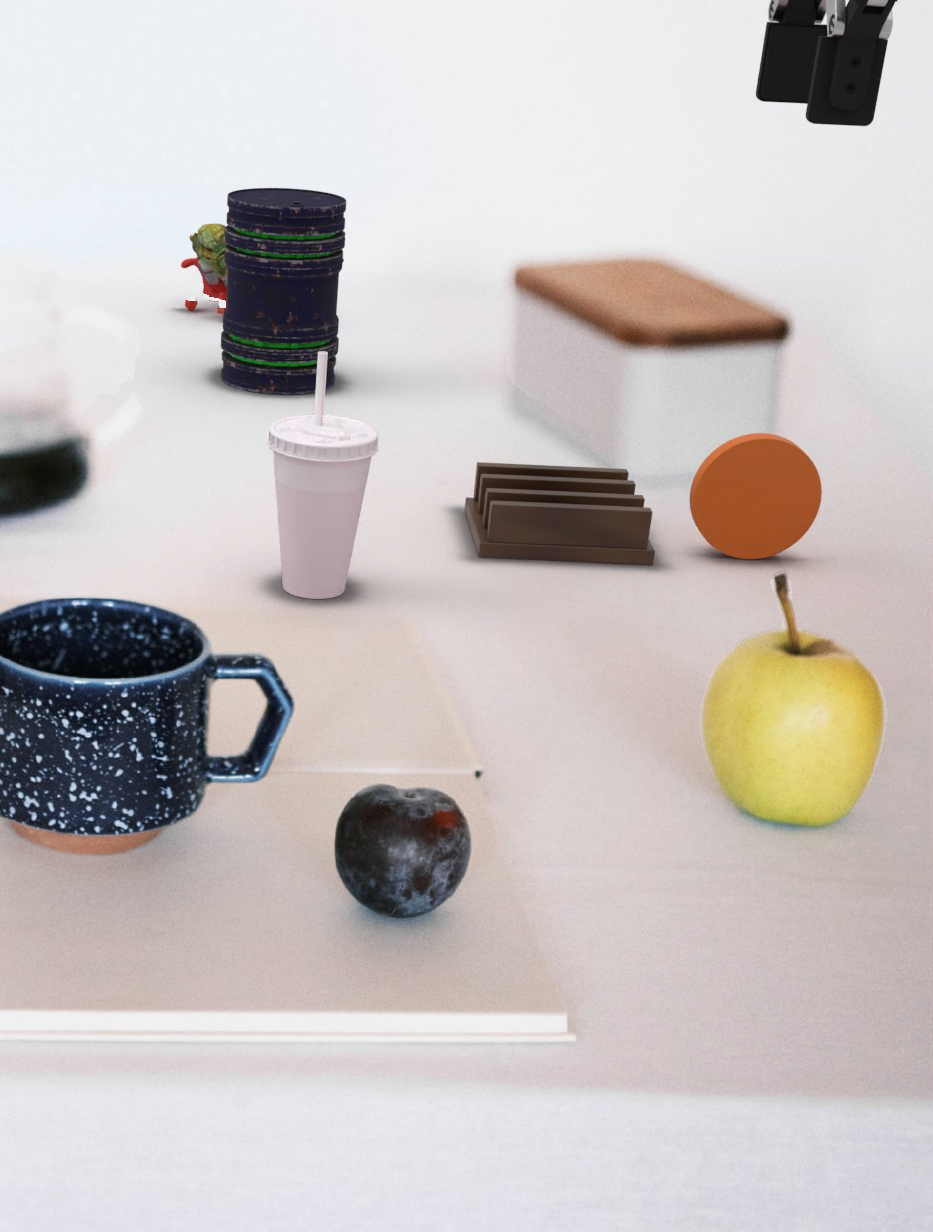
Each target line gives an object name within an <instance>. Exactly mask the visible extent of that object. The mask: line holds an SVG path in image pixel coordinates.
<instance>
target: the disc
mask: <svg viewBox="0 0 933 1232" xmlns="http://www.w3.org/2000/svg"><path fill="white" fill-rule="evenodd" d="M822 491H823V490H822V481H821V476H820V474H819V471H818V469H817V467H816V465H815V463H814V462H813V460H812V459H811V458H810V456H809V455H808V454H807V453H806V452H805V450H803V449H802V448H801V447H800V446H799V445H798V444H796V443H795V442H794V441H792V440H789V439H788V438H787V437H783V436H781V435H778V434H772V433H765V432H756V433H747V434H743V435H740V436H737V437H734V438H732V439H729V440H727V441H725V442H723V443H722V444H721V445H719V446H718V447H716V448H715V449H713V450H712V452H711V453H710V454H709V455H707V456H706V458H705V459H704V460H703V461H702V462H701V464H700V466H699V467H698V469H697V470H696V473H695V475H694V477H693V479H692V483H691V486H690V491H689V509H690V512H691V518H692V520H693V522H694V525H695V526H696V528H697V529H698V531H699V533H700V534H701V536H702V537H703V538H704V540H705V541H706V542H707V544H709V545H710V546H711V547H712V548H713V549H715V550H717V551H718V552H720V553H722V554H723V555H725V556H729V557H732V558H736V559H740V560H741V559H742V560H758V559H759V560H760V559H765V558H769V557H772V556H776V555H778V554H780V553H782V552H784V551H786V550H788V549H790V548H791V547H793V545H795V544H796V543H798V542H799V541H800V540H801V539H802V538H803V537H804V536H805V535H806V533H807V532H808V531H809V530H810V528H811V527H812V526H813V524H814V522H815V520H816V518H817V515H818V514H819V510H820V507H821V503H822Z"/></svg>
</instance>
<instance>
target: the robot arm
mask: <svg viewBox="0 0 933 1232" xmlns="http://www.w3.org/2000/svg"><path fill="white" fill-rule="evenodd" d="M846 1H847V0H770V1H769V5H768V10H767V19H768V21H766V24H765V30H764V31H765V32H764V37H763V43H762V50H761V58H760V63H759V64H760V65H759V70H758V75H757V83H756V89H755V97H756V99H757V100H759V101H761V102H763V103H764V102H765V103H784V104H785V103H786V104H803V105H804V104H806V110H805V119H806V120H807V121H808V123H810V124H814V125H829V126H830V125H831V126H851V127H868V126H869V125H871V124H872V123H873V121H874V118H875V114H876V109H877V108H876V107H877V103H878V98H879V90H880V85H881V82H882V75H883V69H884V66H885V65H884V64H885V59H886V53H887V48H888V44H889V43H888V42H889V39H890V37H891V34H892V30H893V25H894V24H893V22H894V18H893V17H894V16H893V7H894V6H895V3H897V2H898V0H848V2H847V3H846ZM825 17H826V24H824V23H823V22H824V18H825ZM822 23H823V24H822Z"/></svg>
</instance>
